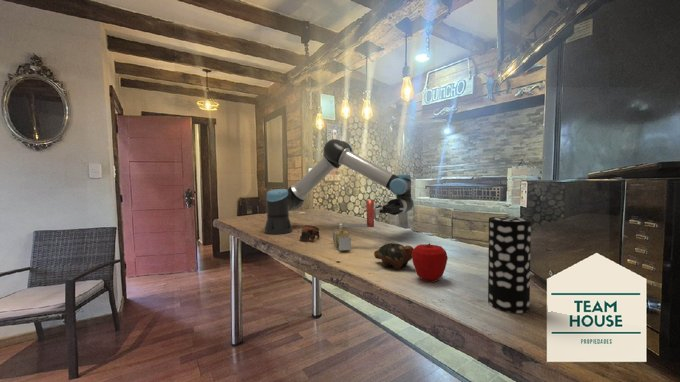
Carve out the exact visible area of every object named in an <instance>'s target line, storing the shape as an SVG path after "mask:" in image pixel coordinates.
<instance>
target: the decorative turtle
mask: <svg viewBox="0 0 680 382" xmlns="http://www.w3.org/2000/svg"><path fill="white" fill-rule="evenodd" d="M414 248H415V247H413V246H411V245H405V246H404V245H403V244H399V243H396V242H388V243H386V244H382V246H380V247H379V249H378V250H375V251H374V254H373V255H374V258H375V259H378V260H381V262H382V266H384V268H389V267H390V266H391V265H392V266H393V268H394V269H395V270H396V271H399V270H401V268H402V266H403V267H407V266H408V264H409V261H411V260H412V256H411V255H412V251H413V249H414Z"/></svg>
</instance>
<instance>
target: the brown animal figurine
mask: <svg viewBox="0 0 680 382" xmlns="http://www.w3.org/2000/svg"><path fill="white" fill-rule="evenodd" d="M316 237H317V239H320V228H319V227H317V226H315V225H311V224H305V225H304V227H303V228H302V229H301V235H300V236H299V241H300V242H302V241H303V242H306V243H309V241H314V240H315V239H316Z"/></svg>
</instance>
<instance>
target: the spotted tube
mask: <svg viewBox="0 0 680 382" xmlns="http://www.w3.org/2000/svg"><path fill="white" fill-rule="evenodd" d="M531 235H532V219H529V218H527V217H519V216H517V217H516V216H491V217H488V259H487V260H488V262H487V263H488V267H487V268H488V271H487V272H488V275H487V281H488V283H487V289H488V290H487V303H488V305H489V306H491V307H492V308H494V309H496V310H499V311H502V312H505V313H512V314H524V313H527V312H529V311H530V305H531V304H530V303H531V299H530V298H531V296H530V295H531V255H532V254H531V251H532V250H531V249H532V248H531V247H532V246H531V245H532V244H531V243H532V240H531V239H532V236H531Z"/></svg>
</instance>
